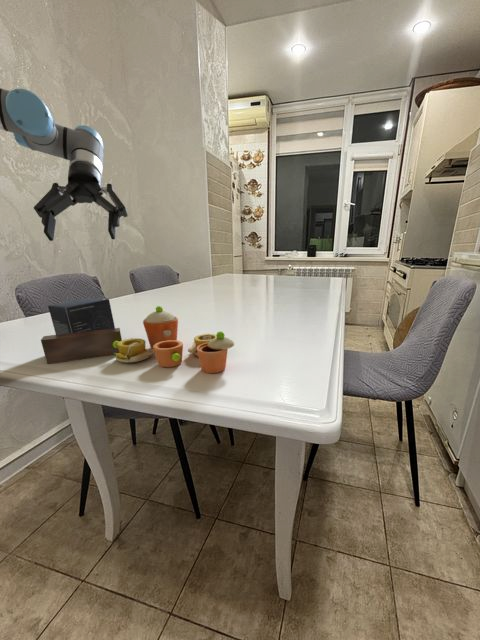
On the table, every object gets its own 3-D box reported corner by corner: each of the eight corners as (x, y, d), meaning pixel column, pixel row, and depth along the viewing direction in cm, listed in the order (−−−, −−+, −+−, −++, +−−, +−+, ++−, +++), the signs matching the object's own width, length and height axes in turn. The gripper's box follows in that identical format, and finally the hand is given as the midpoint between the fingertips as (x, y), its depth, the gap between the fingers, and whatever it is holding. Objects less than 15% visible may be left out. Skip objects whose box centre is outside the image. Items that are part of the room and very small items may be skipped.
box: (100, 337, 74) (92, 296, 70) (118, 341, 71) (111, 298, 68) (58, 350, 65) (46, 304, 61) (76, 355, 62) (65, 307, 59)
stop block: (47, 364, 58) (40, 340, 56) (49, 358, 60) (43, 336, 59) (124, 353, 64) (120, 331, 62) (123, 348, 66) (119, 327, 65)
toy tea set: (103, 363, 58) (94, 316, 55) (152, 340, 72) (147, 301, 69) (222, 380, 51) (219, 327, 48) (251, 351, 65) (251, 308, 62)
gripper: (139, 188, 83) (140, 245, 75) (40, 187, 78) (30, 248, 70) (132, 162, 76) (132, 222, 68) (23, 159, 71) (10, 223, 63)
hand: (80, 235), depth 69 cm, fingers open, 13 cm apart
